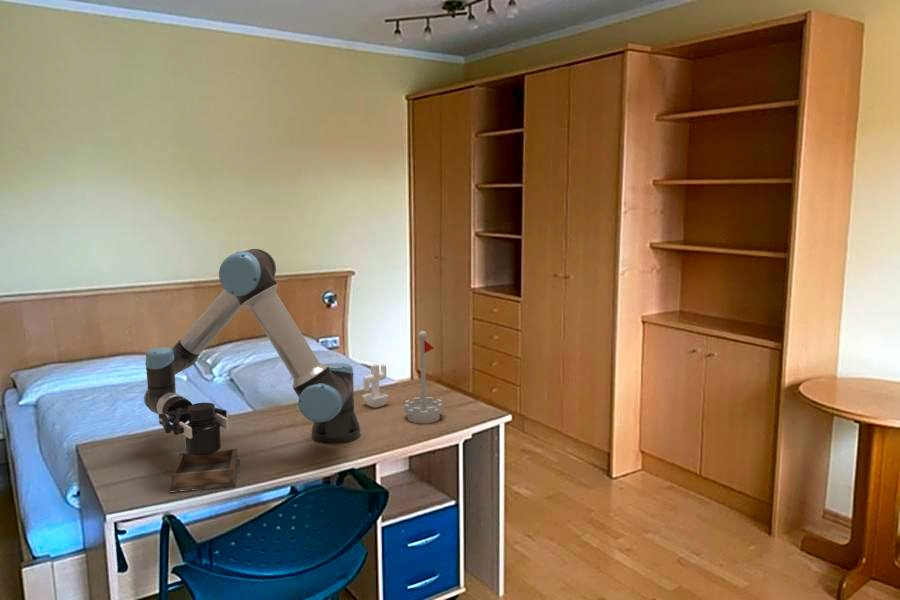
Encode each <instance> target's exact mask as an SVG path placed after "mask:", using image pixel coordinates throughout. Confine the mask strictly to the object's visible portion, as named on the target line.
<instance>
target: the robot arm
mask: <svg viewBox="0 0 900 600" xmlns="http://www.w3.org/2000/svg"><path fill="white" fill-rule="evenodd" d="M276 272H277V266H276V261H275V259H274V258H273V257H272V255H271V254H269V252H267V251H265V250H264V249H260V248H251V249H247V250H243V251H241V250H240V251H236V252H234V253H231V254H230V255H229V256H227V257H226V258H224V259H223V261H222V263H221V264H220V266H219V269H218V278H219V283H220V285H221V286H222V288H223V290H222V291H221V292H220V293H219V294H218V296H217V297H216V298H215V299H214V300H213V301H212V302H211V303H210V304H209V306H207V308H206V309H205V311H204V312H202V314H200V315H199V317H198V318H197V320H196V321H195V322H193V324H191V326H190V328H188V329H187V330H186V332H185V333H184V334H183V335H182V336H181V337H180V339H179V340H178V341H177V342H176V344H175V345H173V347H167V346H165V347H164V346H163V347H162V346H161V347H154V348H149V349H148V350H147V351H146V353H145V363H144V364H145V370H146V382H147V383H146V385H147V390H146V391H145V393H144V396H143V402H144V405H145V406H146V407H147V408H148V409H149V410H150V411H151V412H153V413H155V414H157V415H158V423H159V425H161V426H162V428H163V430H164V432H165V433H166V434H171V432H173V435H174V436H177V435H179V434H180V435H182V436H184V437H185V436H186V437H188V438H189V439H190V438H192V428H191V427H189V426H188V425H187V424H186V423H187V422H189V421H188V408H187V407H188V406H190V405H192V404H193V403H192V402H191V401H190V400H189V399H187V398H186V397H183V396H181V395H180V394H178V393H177V392H176V375H177V374H179V373H181V372H183V371H185V370H186V369H189V368H191V367H192V366H193V365H194V364H195V363H196V362H197V361H198V359H199V356H200V355H201V354H202V353H203V351H204V350H205V349H206V348H207V347H208V346H209V344H210V343H211V342H213V340H214V339H215V338H216V337H217V335H219V334H220V332H221V331H223V329H224V328H225V327H226V326H227V325H228V323H229V322H230V321H231V320H232V319H233V318H234V317H235V315H236V314H238V313H239V311H240V310H241V309H242V308H243V307H246V308H248V309H250V311H251V313H252V314H253V316H254V317H255V319H256V320H257V322H258V324H259V326H260V327H261V329H262V330H263V332H264V334H265V336H266V337H267V339H269V341H270V343H271V344H272V346H273V349H275V351H276V353H277V354H278V356H279V357H280V359H281V361H282V362H283V364H284V365H285V367H286V369H287V370H288V372H289V374H290V375H291V376H292V378H293V384H292V389H293V390H294V392H295V394H296V396H298V408H299V411H300V413H301V414H302V415H303V416H304V418H305V419H307V420H309V421H311V422H313V424H312V427H311V439H312V441H314V442H316V443H319V444H324V445H325V444H326V445H337V444H345V443H350V442H353V441H355V440H357V439H359V438H360V436H361V425H360V422H359V419H358V418H357V417H358V416H357V415H356V412H355V395H354V394H355V390H354V375H355V373H354V370H353V369H354V367H353V366H352V365H351V364H349V363H343V362H342V363H340V362H339V363H337V362H334V363H333V362H330V363H329V362H328V363H321V362H320V361H319V360H318V358H317V356H316V354H315V353H314V351H313V350H312V348H311V346H310V345H309V343H308V342H307V340H306V338H305V337H304V335H303V334H302V332H301V330H300V329H299V327H298V326H297V323H295V321H294V319H293V317H292V315H291V314H290V313H289V311H288V310H287V308H286V306H285V304H284V303H283V301H282V299H281V298H280V296H279V295H278V293H277V290H278V286H279V283H277V281H276V280H275V276H276ZM227 413H228V412H227V410H225V409H222V408H218V407H215V419H214V420H216V421H217V422H218V423H219V424H220V428H221V427H222V428H223V429H224V430H230V419H229V418H228V417H227Z"/></svg>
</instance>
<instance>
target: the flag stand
mask: <svg viewBox="0 0 900 600" xmlns="http://www.w3.org/2000/svg"><path fill="white" fill-rule="evenodd" d="M427 333H428V332H426V331H425V330H421V331H419V332H418V338H419V340H420V383H421V384H420V395H421V396H417V397H413V398H412V401H411V400H410V399H407V400H405V401H404V407H403V408H404V409H403V411H404V412H405V413H406V414H407V420H408V421H409V422H411V423H415V424H416V423H417V424H430V423H434V422H437V421H439V420H440V419H441V412H442V411H443V409H444V405H443V400H442V399H440V398H438V399H436V400H434V398H435V397H432V396H426V395H427V394H426V393H427V388H426V387H427V386H426V385H427V384H426V375H427V374H426V353H427V352H429V351H431V350H434V349H435V348H434V347H433V346H432V344H430V343H429V342H427V341H426V339H427V337H428V334H427Z"/></svg>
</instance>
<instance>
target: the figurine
mask: <svg viewBox="0 0 900 600" xmlns="http://www.w3.org/2000/svg"><path fill="white" fill-rule="evenodd" d="M386 379H387V364H385V363H381V365H379V364H371V365H370V374H367V375H365V376H363V390H364V391H366V392H369V391H370V385H371V392H369V393H365V394H362V395H361V397H362V399H363V401H364V402H365V404H366V406H369V407H370V408H379V407H383V406H385V405H386V403H387V401H388V399H389V398H390V394H387V393H384V392H381V391H380V381H383V380H386Z"/></svg>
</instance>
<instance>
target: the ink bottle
mask: <svg viewBox="0 0 900 600" xmlns="http://www.w3.org/2000/svg"><path fill="white" fill-rule="evenodd" d="M215 405H216V404H214V403H213V402H196V403H192V405H190V406H188V407H187V408H188V421H187V422H188V423H187V424H186V425H188V426H189V427H191V428H192V438H190V439H189V438H188V437H186V436H184V444H185V445H184V446H185V447H184V448H185V453H189V454H193V455H205V454H210V453H213V452H215V451H217V450H221V448H222V440H221V439H222V436H221V426H220V424H219V423H218V422H217V421H216V420H214V419H215V408H216V406H215Z"/></svg>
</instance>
